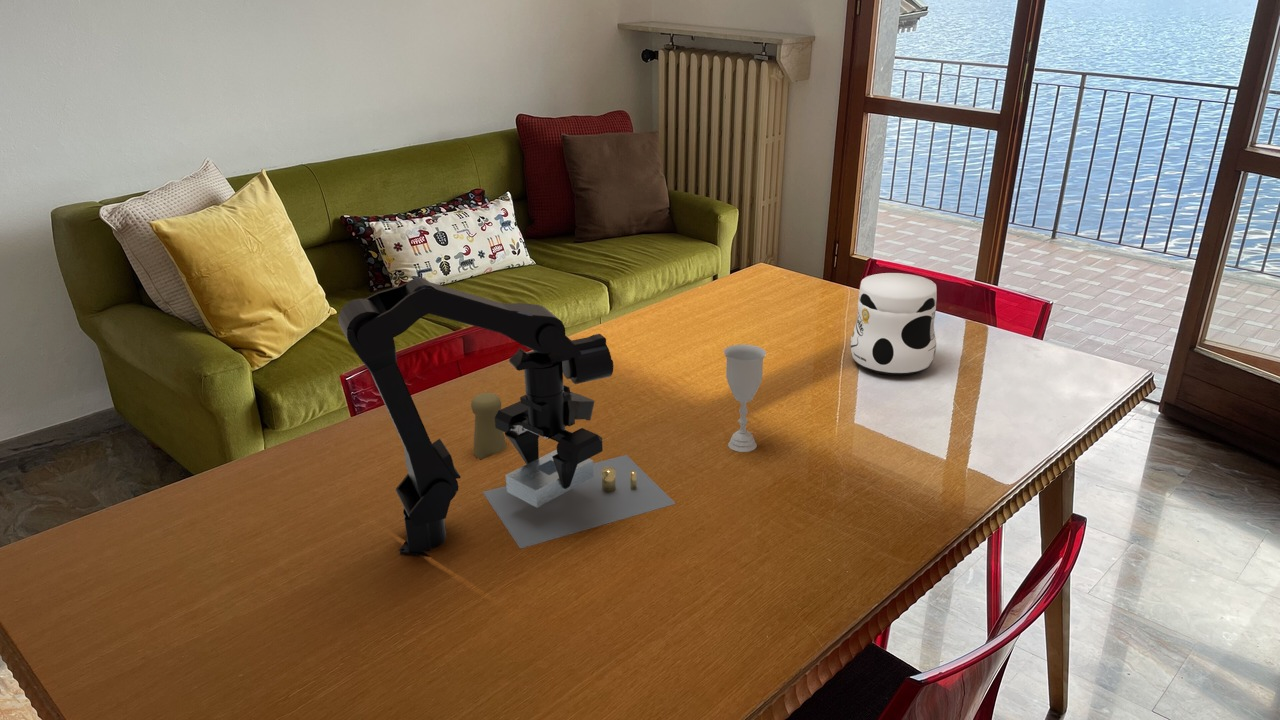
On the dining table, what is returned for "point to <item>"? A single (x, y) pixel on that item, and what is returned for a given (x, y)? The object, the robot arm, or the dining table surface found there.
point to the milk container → (895, 324)
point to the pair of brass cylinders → (609, 480)
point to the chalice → (743, 387)
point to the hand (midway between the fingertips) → (550, 479)
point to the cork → (487, 426)
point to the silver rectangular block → (544, 480)
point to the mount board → (579, 505)
